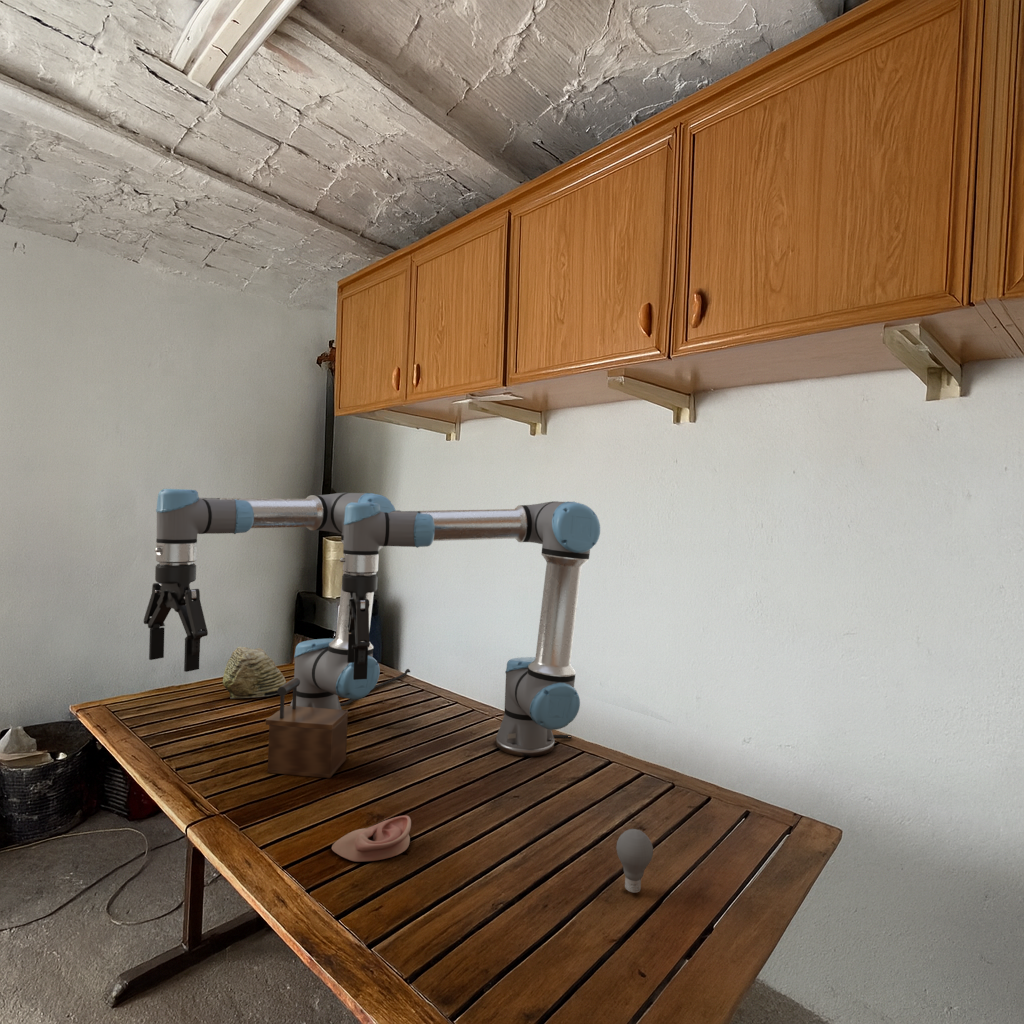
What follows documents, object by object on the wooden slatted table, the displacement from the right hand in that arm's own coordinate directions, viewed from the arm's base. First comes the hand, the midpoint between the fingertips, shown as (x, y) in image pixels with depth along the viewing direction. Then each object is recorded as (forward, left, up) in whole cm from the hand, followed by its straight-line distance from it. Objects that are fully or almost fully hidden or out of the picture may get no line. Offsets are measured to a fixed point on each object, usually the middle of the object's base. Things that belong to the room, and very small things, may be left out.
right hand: (356, 670), depth 138 cm
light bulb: (-41, +50, -26) cm, 69 cm away
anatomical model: (-1, +25, -26) cm, 36 cm away
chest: (+9, -13, -26) cm, 30 cm away
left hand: (+37, -7, +1) cm, 37 cm away
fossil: (+23, -71, -26) cm, 79 cm away
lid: (+9, -14, -15) cm, 22 cm away
